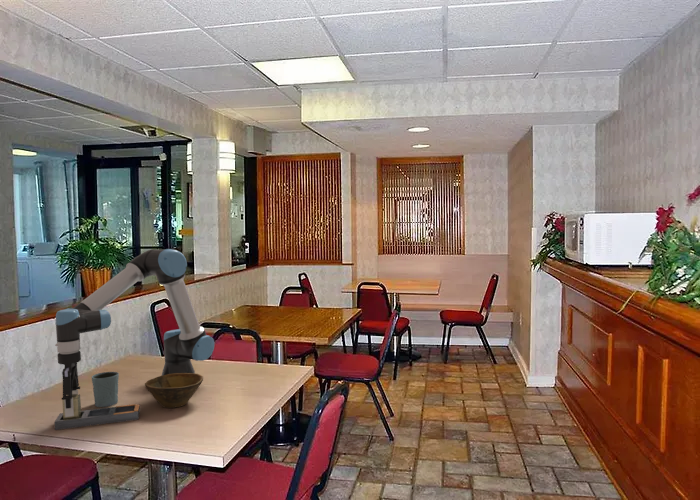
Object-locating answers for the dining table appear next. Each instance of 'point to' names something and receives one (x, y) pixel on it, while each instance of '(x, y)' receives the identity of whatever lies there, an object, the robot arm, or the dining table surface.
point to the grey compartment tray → (100, 416)
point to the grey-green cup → (105, 388)
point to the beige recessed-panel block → (74, 407)
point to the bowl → (174, 388)
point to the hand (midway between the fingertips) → (72, 411)
